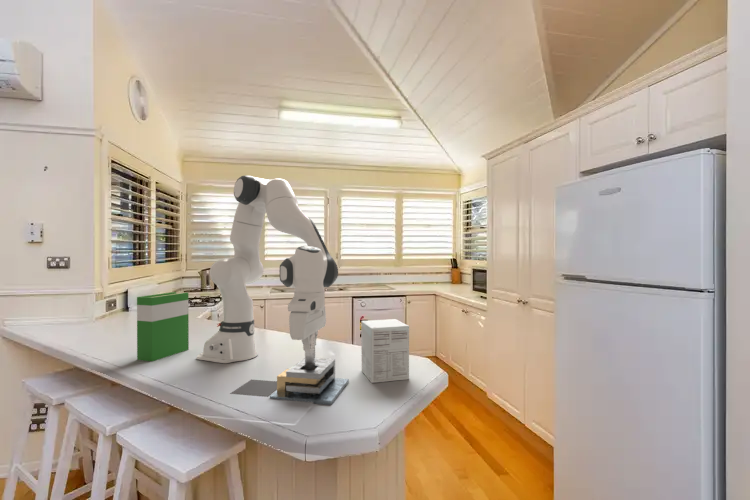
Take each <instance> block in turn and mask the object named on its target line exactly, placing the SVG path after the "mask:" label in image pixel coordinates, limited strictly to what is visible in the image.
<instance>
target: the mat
mask: <svg viewBox="0 0 750 500" xmlns="http://www.w3.org/2000/svg"><path fill="white" fill-rule="evenodd" d="M276 391H277V380H265V379H263V380H262V379H249V380H248V381H247V382H245V383H243V384H242V385H240V386H239V387H237V388H236V389H234V390H233V391H232V392H230V393H229V394H231V395H243V396H254V397H255V396H256V397H267V398H270V396H271V395H272V394H273V393H274V392H276Z"/></svg>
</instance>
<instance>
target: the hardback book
mask: <svg viewBox="0 0 750 500" xmlns="http://www.w3.org/2000/svg"><path fill="white" fill-rule="evenodd" d="M189 323H190V320H189V292H181V293H177V291H172V292H165V293H164V292H163V293H157V294H150V295H142V296H137V297H136V360H137V361H144V362H156V361H157V360H161V359H164V358H167V357H170V356H174V355H176V354H179V353H182V352H183V353H184V352H187V351H189V345H190V344H189V343H190V342H189V339H190V338H189V330H190V329H189V327H190V326H189V325H190V324H189Z"/></svg>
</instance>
